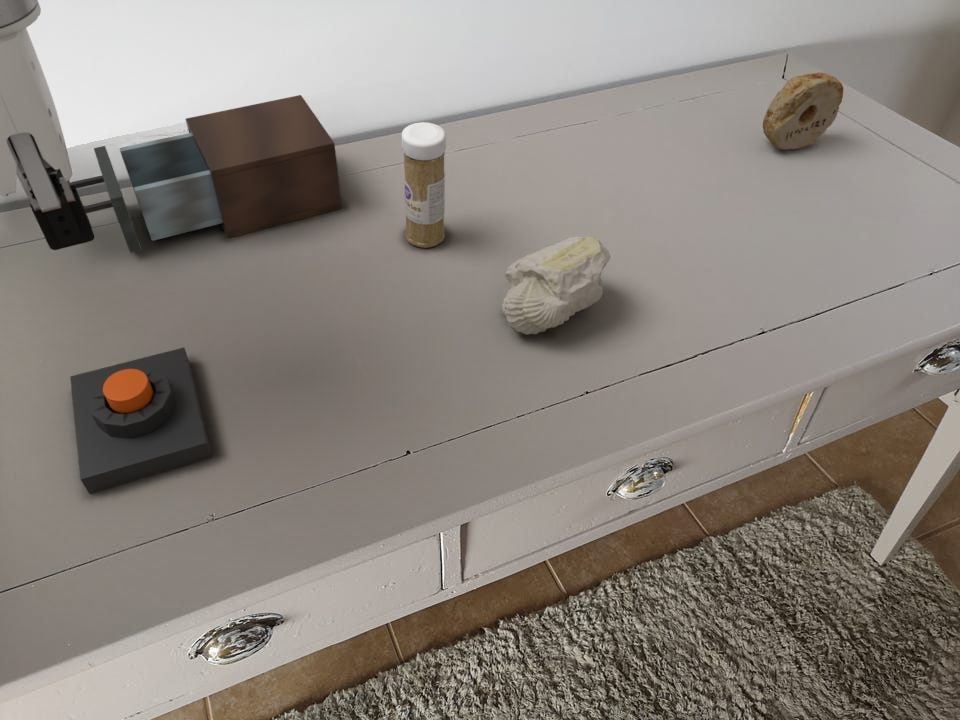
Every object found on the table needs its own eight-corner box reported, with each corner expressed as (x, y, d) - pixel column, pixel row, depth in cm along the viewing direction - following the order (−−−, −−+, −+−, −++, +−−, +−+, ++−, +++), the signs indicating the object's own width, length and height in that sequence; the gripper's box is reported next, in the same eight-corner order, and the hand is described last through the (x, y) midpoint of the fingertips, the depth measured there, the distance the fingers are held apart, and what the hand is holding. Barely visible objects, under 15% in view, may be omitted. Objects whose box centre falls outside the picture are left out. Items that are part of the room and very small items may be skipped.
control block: (78, 391, 72) (62, 362, 69) (189, 363, 75) (179, 333, 72) (89, 494, 64) (72, 466, 61) (212, 458, 67) (202, 429, 64)
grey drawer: (73, 267, 82) (48, 213, 77) (59, 213, 88) (36, 160, 83) (244, 223, 88) (232, 170, 83) (221, 175, 94) (208, 123, 89)
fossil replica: (480, 332, 79) (572, 368, 77) (487, 276, 72) (588, 314, 71) (523, 256, 86) (608, 288, 84) (534, 199, 79) (626, 232, 78)
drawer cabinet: (227, 238, 88) (210, 171, 81) (202, 184, 94) (185, 118, 88) (342, 208, 92) (334, 142, 86) (310, 158, 99) (300, 94, 93)
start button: (107, 388, 67) (100, 375, 66) (150, 377, 68) (144, 363, 67) (111, 418, 65) (104, 405, 64) (155, 406, 66) (150, 393, 65)
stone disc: (811, 131, 108) (838, 62, 101) (829, 144, 106) (857, 75, 98) (749, 143, 105) (772, 73, 98) (765, 158, 103) (790, 87, 96)
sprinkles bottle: (397, 235, 89) (391, 130, 79) (427, 219, 91) (425, 115, 81) (423, 255, 87) (420, 149, 77) (453, 238, 89) (455, 133, 79)
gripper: (-111, -41, 49) (8, 200, 63) (-106, 59, 40) (31, 315, 54) (17, -57, 52) (105, 177, 65) (48, 33, 43) (143, 283, 56)
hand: (72, 239), depth 60 cm, fingers closed
